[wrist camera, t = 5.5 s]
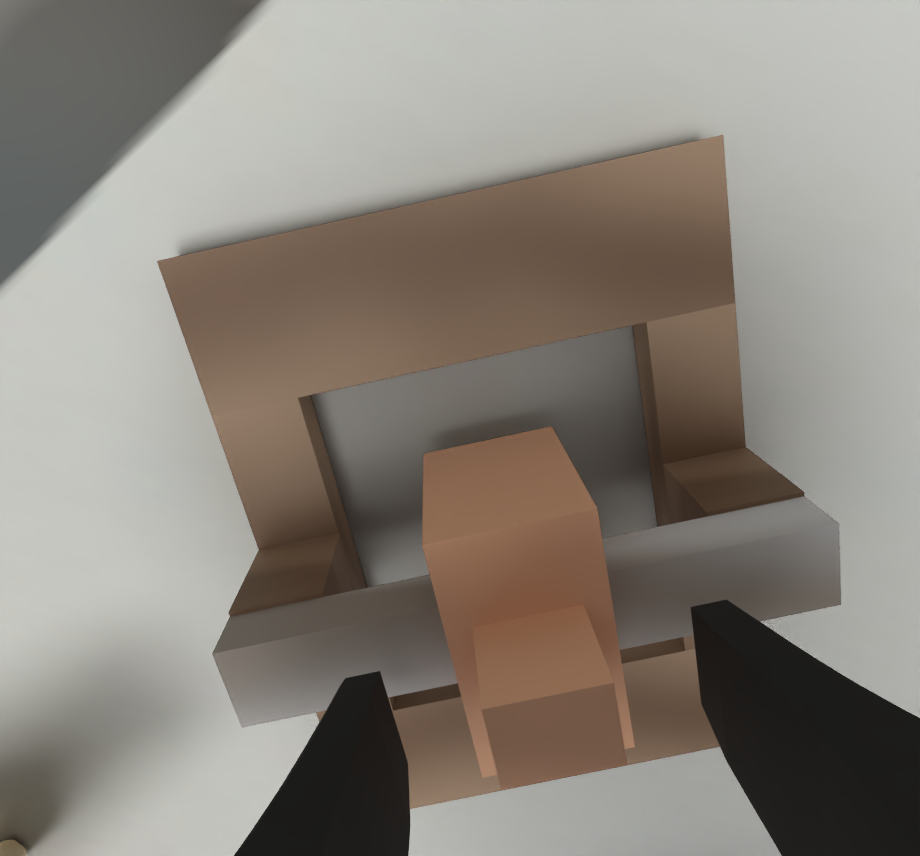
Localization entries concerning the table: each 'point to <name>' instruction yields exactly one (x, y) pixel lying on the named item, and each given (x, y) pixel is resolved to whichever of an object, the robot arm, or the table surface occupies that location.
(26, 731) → the table surface
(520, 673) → the block
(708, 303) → the brown wooden frame
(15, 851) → the unicorn
